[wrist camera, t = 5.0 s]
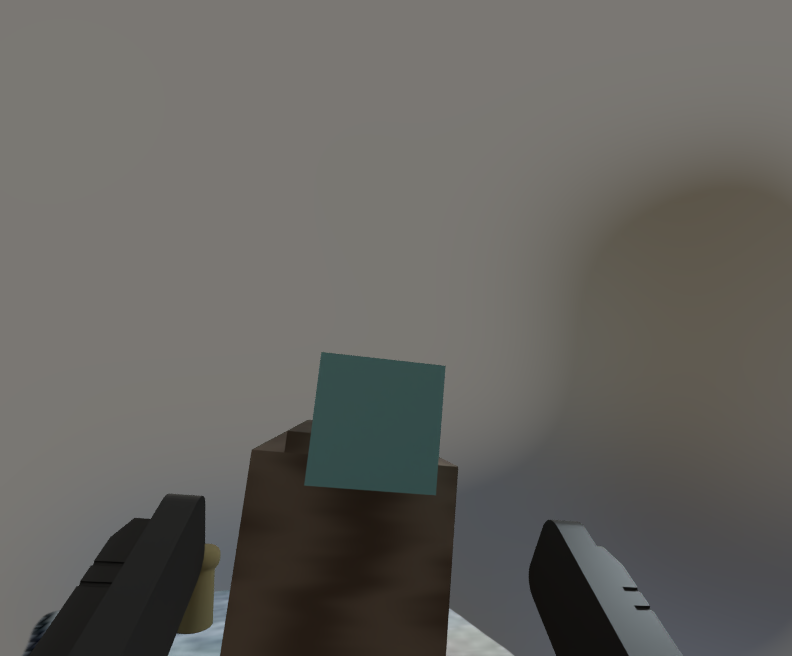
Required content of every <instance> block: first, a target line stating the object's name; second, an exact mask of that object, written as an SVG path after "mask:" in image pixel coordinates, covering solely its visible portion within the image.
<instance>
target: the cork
mask: <svg viewBox="0 0 792 656" xmlns="http://www.w3.org/2000/svg"><path fill="white" fill-rule="evenodd" d="M219 561H220V550H219V548H218V547H217V546H216V545H213V544H205V552H204V559H203V564H202V568H201V572H200V575H199V578H198V581H197V583H196V586H195V588H194V591H193V593H192V596H191V598H190V601H189V603H188V606H187V608H186V611H185V613H184V616H183V618H182V621H181V623H180V626H179V628H178V631H177V633H182V634H191V633H197V632H201V631H203V630H206V629H207V628H209V627H210V626H211V625H212V624H213V601H214V572H215V571H214V570H215V568H216V566H217V565H218V563H219Z"/></svg>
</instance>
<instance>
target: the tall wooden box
mask: <svg viewBox="0 0 792 656" xmlns="http://www.w3.org/2000/svg"><path fill="white" fill-rule="evenodd" d="M312 422H313V420H307V421H305V422H303V423H301V424H299V425H297V426H295V427H294V428H292V429H290V430H288V431H286V432H284V433H282V434H281V435H279V436H277V437H275V438H273V439H271V440H269V441H267V442H265V443H263V444H262V445H260V446H258V447H256V448H254V449H253V450H252V452H251V458H250V465H249V471H248V478H247V485H246V491H245V498H244V505H243V510H242V517H241V524H240V530H239V537H238V543H237V549H236V556H235V562H234V569H233V575H232V582H231V589H230V595H229V601H228V608H227V614H226V621H225V627H224V634H223V640H222V647H221V653H220V656H446V645H447V630H448V614H449V598H450V584H451V568H452V553H453V537H454V522H455V507H456V492H457V476H458V467H457V466H455V465H453V464H451V463H450V462H448V461H445V460H444V459H442V458H440V457H439V460H438V473H437V487H436V495H424V494H411V493H398V492H384V491H371V490H357V489H344V488H331V487H317V486H304V483H305V476H306V468H307V460H308V453H309V445H310V437H311V429H312Z"/></svg>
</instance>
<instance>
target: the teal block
mask: <svg viewBox="0 0 792 656" xmlns="http://www.w3.org/2000/svg"><path fill="white" fill-rule="evenodd" d="M444 378H445V366H441V365H432V364H423V363H414V362H405V361H396V360H387V359H379V358H370V357H360V356H352V355H351V356H350V355H343V354H333V353H325V352H322V353H321V360H320V368H319V375H318V384H317V391H316V399H315V406H314V414H313V422H312V429H311V437H310V445H309V453H308V460H307V468H306V476H305V483H304V486H317V487H331V488H344V489H357V490H371V491H384V492H398V493H411V494H424V495H436V487H437V473H438V460H439V445H440V433H441V419H442V405H443V391H444Z"/></svg>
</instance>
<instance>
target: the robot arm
mask: <svg viewBox="0 0 792 656" xmlns="http://www.w3.org/2000/svg"><path fill="white" fill-rule="evenodd" d="M204 552H205V498H204V496H195V495H179V494H167V495H166V496H165V497H164V498H163V500H162V501H161V503H160V505H159V507H158V508H157V510H156V511H155V513H154V515H153V516H152V518H151V519H142V518H134V519H133V520H131V521H130V522H129V523H128V524H126V525H125V526H124V527H123V528H121V529H120V530H119V531H118V532H116V533H115V534H114V535H113V536H111V537H110V539H109V540H108V542H107V543H106V544H105V546H104V547H103V549H102V550H101V552H100V553H99V555H98V556H97V558H96V559H95V561H94V564H93V566H91V567H90V568H89V569H88V571H87V572H86V574H85V575H84V577H83V578H82V580H81V581H80V585H79V586H77V587H76V588H75V590H74V591H73V593H72V594H71V596H70V597H69V598H68V600H67V601H66V603H65V604H64V606H63V608H62V609H61V610H60V612H59V613H58V614H57V616H56V617H55V619H54V620H53V622H52V623H51V625H50V626H49V628H48V629H47V630H46V632H45V633H44V635H43V636H42V638H41V639H40V641H39V642H38V644H37V645H36V647H35V648H34V649H33V651H32V652H31V654H30V655H29V656H168V654H169V651H170V648H171V646H172V643H173V641H174V638H175V636H176V633H177V631H178V628H179V626H180V623H181V621H182V618H183V616H184V613H185V611H186V608H187V606H188V603H189V601H190V598H191V596H192V593H193V591H194V588H195V586H196V583H197V581H198V578H199V575H200V572H201V568H202V564H203V559H204ZM529 585H530V590H531V593H532V597H533V599H534V602H535V604H536V607H537V609H538V612H539V614H540V617H541V619H542V622H543V624H544V626H545V629H546V631H547V634H548V636H549V639H550V641H551V644H552V646H553V649H554V651H555V654H556V656H683V655H682V654H681V652H680V651H679V649H678V648H677V646H676V645H675V643H674V642H673V640H672V639H671V637H670V636H669V634H668V633H667V631H666V630H665V628H664V627H663V625H662V624H661V622H660V621H659V619H658V618H657V616H656V615H655V613H654V612H653V611H651V610H650V606H649V604H648V603H647V601H646V600H645V598H644V597H643V595H642V594H641V592H638V590H637V586H636V584H635V583H634V582H633V580H632V579H631V577H630V575H629V574H628V573H627V571H626V569H625V568H624V567H623V565H622V564H621V563H620V562H619V561H617V560H616V559H615V558H614V557H613V556H612V555H611V554H610V553H609V552H608V551H607V550H606V549H605V548H603V547H600V546H596V545H595V543H594V541H593V540H592V538H591V537H590V535H589V533H588V532H587V530H586V529H585V527H584V526H583V525H582V524H581V523H580V522H573V521H558V520H547V521H546V522H545V524H544V525H543V528H542V531H541V534H540V537H539V540H538V543H537V546H536V549H535V552H534V555H533V558H532V561H531V564H530V568H529Z"/></svg>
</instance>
